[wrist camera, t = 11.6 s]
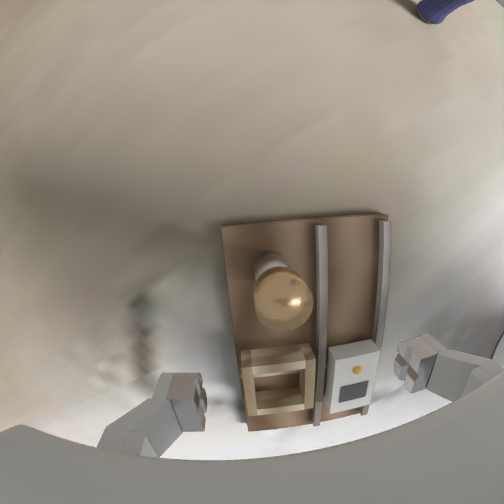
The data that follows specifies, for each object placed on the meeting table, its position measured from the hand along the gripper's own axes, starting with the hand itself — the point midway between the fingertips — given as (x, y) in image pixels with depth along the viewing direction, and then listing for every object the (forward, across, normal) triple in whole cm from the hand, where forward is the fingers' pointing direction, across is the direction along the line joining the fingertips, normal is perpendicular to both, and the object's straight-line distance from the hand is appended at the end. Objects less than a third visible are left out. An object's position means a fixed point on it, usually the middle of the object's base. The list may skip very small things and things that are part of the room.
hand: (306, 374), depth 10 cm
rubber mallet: (+17, +25, +32) cm, 44 cm away
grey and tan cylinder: (+15, 0, 0) cm, 15 cm away
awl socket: (+15, 0, -12) cm, 20 cm away
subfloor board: (+17, +4, -9) cm, 20 cm away
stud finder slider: (+15, +8, -13) cm, 21 cm away
